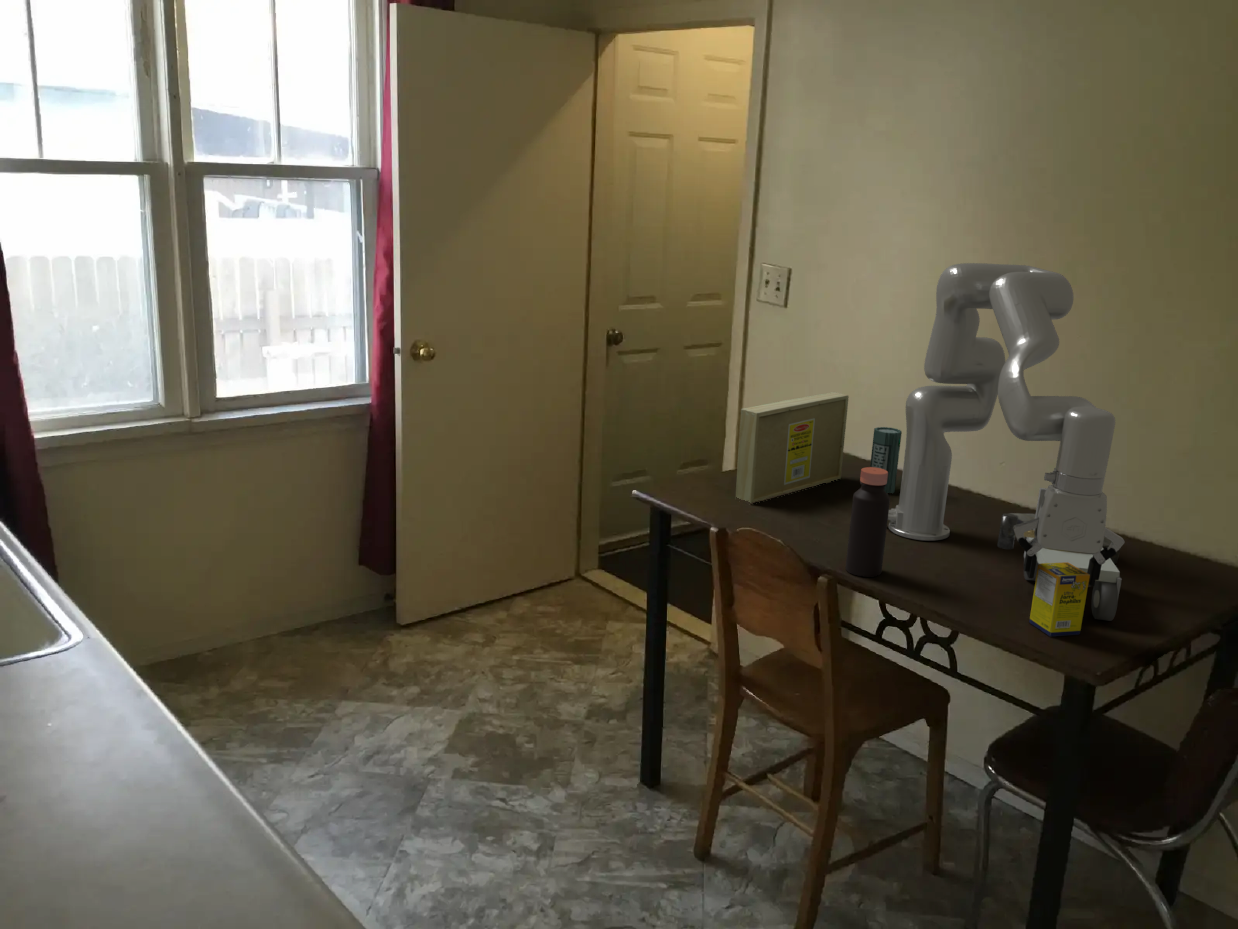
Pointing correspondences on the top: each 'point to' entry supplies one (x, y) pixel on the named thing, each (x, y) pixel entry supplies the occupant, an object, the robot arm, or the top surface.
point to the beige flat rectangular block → (790, 445)
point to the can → (886, 453)
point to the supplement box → (1059, 599)
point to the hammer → (1010, 531)
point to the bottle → (868, 524)
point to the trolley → (1109, 576)
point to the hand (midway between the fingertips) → (1059, 579)
